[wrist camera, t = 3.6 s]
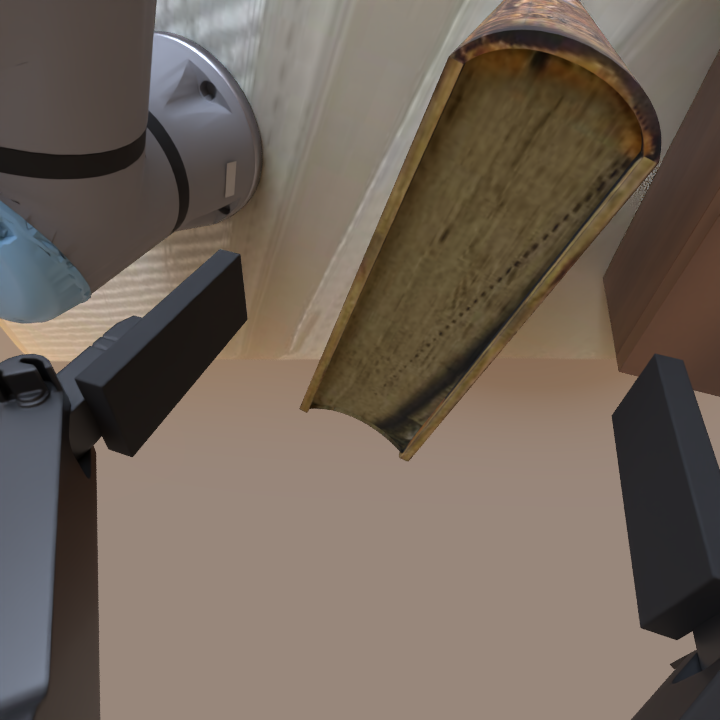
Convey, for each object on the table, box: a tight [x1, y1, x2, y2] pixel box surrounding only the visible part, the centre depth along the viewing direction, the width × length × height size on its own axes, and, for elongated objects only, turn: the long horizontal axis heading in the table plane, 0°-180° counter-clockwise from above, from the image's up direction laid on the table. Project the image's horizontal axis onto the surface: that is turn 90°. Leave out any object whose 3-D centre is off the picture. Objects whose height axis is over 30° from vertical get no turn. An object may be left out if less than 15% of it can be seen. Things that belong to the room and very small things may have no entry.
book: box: [300, 0, 661, 461], centre depth 24 cm, size 16×6×25 cm, turn 160°
